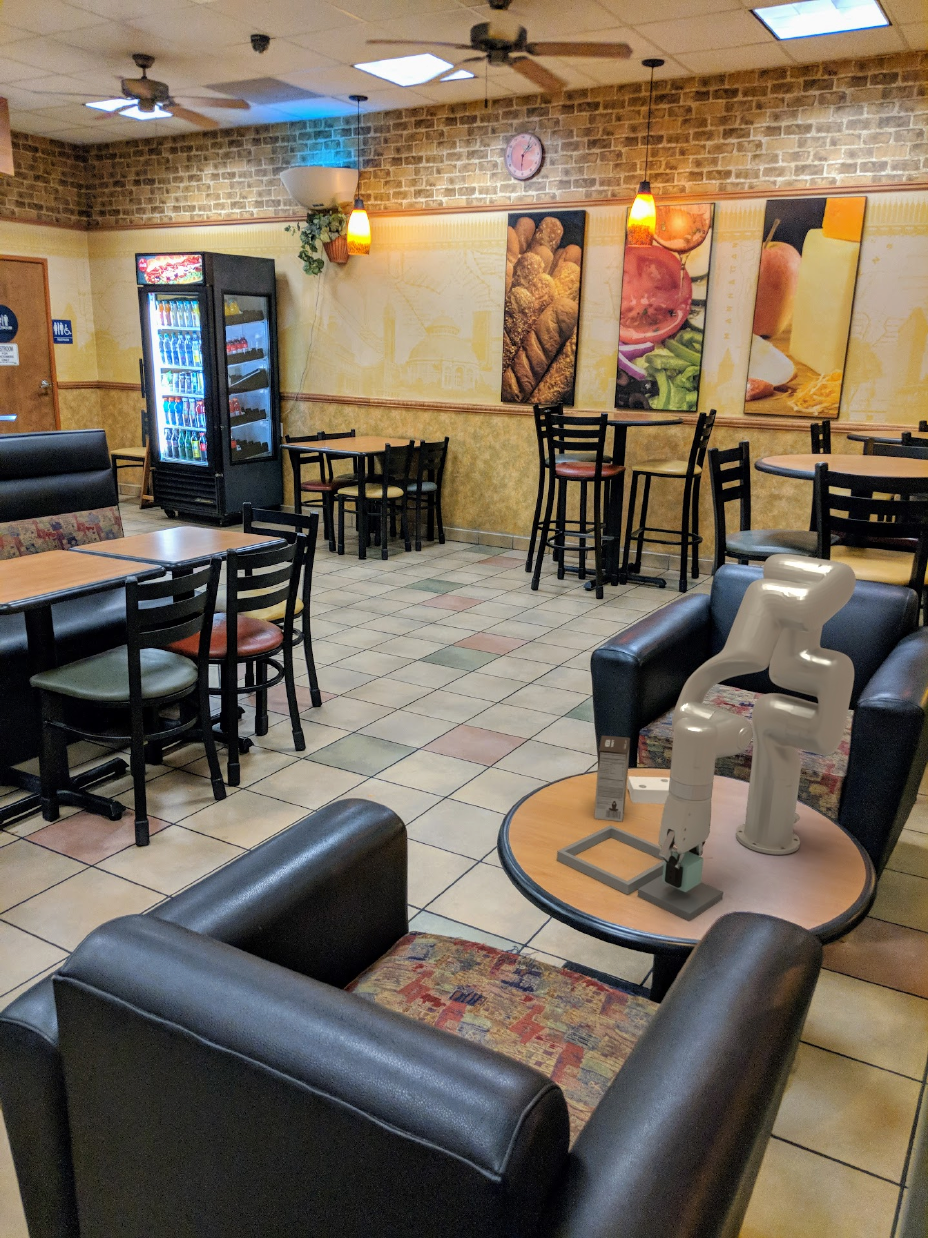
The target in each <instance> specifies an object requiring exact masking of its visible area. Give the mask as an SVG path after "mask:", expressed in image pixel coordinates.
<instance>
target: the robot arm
mask: <svg viewBox="0 0 928 1238" xmlns="http://www.w3.org/2000/svg"><path fill="white" fill-rule="evenodd" d="M854 571H855V570H853V568H852V567H851V566H850V565H848V564H847V563H844V562H839V561H835V560H829V559H823V558H816V557H810V556H805V555H798V554H791V553H776V554H773V555H770V556H769V557H768V558H767V559H766V560H765V562H764V564H763V570H762V574H763V575H762V577H763V578H759V579H756V580H754V581H752V582H751V583H749V586H747V589H746V591H745V593H744V594H743V598H742V601H741V602H740V606H739V607H738V610H737V613H736V616H735V619H734V621H733V623H732V626H731V628H730V631H729V633H728V634H729V635H728V637H727V639H726V642H725V644H724V647H723V648H722V650H720V652H719V653H718V654H715V655H714V656H713V657H711V658H709V659H708V660H706V661H705V662H704V663H702V665H700V666H699V667H698V668H697V669H696V670H694V672H693V673H692V674H691V675H690V676H689V677H688V678H687V680H686V682H685V683H684V685H683V687H682V690H681V692H680V694H679V697H678V700H677V702H676V705H675V708H674V711H673V715H672V719H671V720H672V721H671V728H672V731H673V739H672V749H671V750H672V751H671V759H670V771H669V778H670V781H669V795H668V796H667V799H666V802H665V804H664V807H663V810H662V814H661V815H662V816H661V822H660V827H659V833H658V834H659V835H658V846H660V847H662V849H661V851H660V853H659V856H660V857H662V858H663V859H664V860H665V863H666V872H665V882H666V883H668V884H670V885H673V886H675V887H677V888H680V887H681V885H682V874H683V867H681V864H682V860H683V856H684V853H685V852H687V851H688V852H691V853H693V854H696V855H698V856H700V857H702V855H703V853H704V846H705V844H706V842H707V840H708V839H709V836H710V834H711V822H712V821H711V820H712V797H713V796H712V795H713V789H714V788H713V787H714V776H715V770H716V769H715V767H716V760H717V759H718V758H719V759H720V758H728V757H733V756H736V755H739V754H741V753H742V752H744V751H745V750H746V749H747V748H748V747H749V745H750V743H751V741H752V742H753V743H752V744H753V747H752V758H751V765H750V775H749V785H748V793H747V801H746V802H747V803H746V812H745V819H744V823H742V824H740V825H739V826H738V827H737V828H736V832H735V837H736V840H737V841H738V842H739V843H740V844H741V845H742V846H744V847H746V848H748V849H750V850H752V851H754V852H758V853H762V854H767V855H775V856H776V855H779V856H780V855H781V856H782V855H788V854H792V853H794V852H796V851H797V850H799V848H800V844H801V841H800V838H799V836H798V835H797V834H796V833H795V832H794V826H795V824H797V823H798V822H799V821H800V819H801V816H800V815H799V813H797V812H796V811H797V803H798V802H797V801H798V797H799V796H798V795H799V787H800V780H801V772H802V764H801V762H802V761H801V757H800V754H799V752H798V749H799V750H803V751H806V752H810V753H813V754H816V755H822V756H828V755H831V754H833V753H835V752H836V751H837V749H838V748H839V747H840V745H841V743H842V739H843V736H844V732H845V728H846V722H847V717H848V712H849V707H850V702H851V698H852V691H853V688H854V681H855V668H854V664H853V661H852V660H851V658H850V657H849V656H848V655H847V654H845V653H843V652H840V651H837V650H833V649H828V648H825V647H824V648H823V647H821V637H822V631H823V627H824V625H825V624H826V623H827V622H828V621H829V620H830V619H831V618H832V617H833V616H835V615H836V614H837V613H838V612H839V611H841V609H842V608H844V606H846V604H847V603H848V602H849V601H850V600H851V598H852V596H853V595H854V592H855V588H856V583H857V581H856V580H857V578H856V574H855V572H854ZM768 667H769V670H768V675H769V679H770V681H771V682H772V683H773V684H775V685H776V686H778V687H780V688H783V689H787V690H789V691H793V692H798V693H801V694H805V695H807V696H808V695H809V696H813V697H815V698H817V702H818V703H816V702H814V701H813V702H812V701H810V700H809V701H808V700H806V699H803V698H800V697H795V696H792V695H789V694H788V695H787V694H783V693H774V692H773V693H772V692H771V693H770V692H769V693H765V694H763V695H761V696H760V697H758V699H757V700H756V701H755V703H754V705H753V707H752V711H751V723H750V722H749V720H748V719H746V717H743V716H741V715H739V714H736V713H733V712H730V711H726V710H722V709H720V708H716V707H713V706H709V705H707V704H704V703H703V702H704V701H705V698H706V696H707V694H708V693H709V692H710V691H711V689H712V688H713V687H715V686H716V685H718V684H719V683H720V682H722V681H725V680H727V679H730V678H733V677H737V676H742V675H747V674H753V673H758V672H762V671H764V670H766V669H767V668H768ZM751 724H752V725H751ZM752 738H753V739H752ZM674 846H675V847H674ZM673 852H675V853H677V854H678V856H677V859H676V858H675V857H674V856H672V854H673Z"/></svg>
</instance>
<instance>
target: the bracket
mask: <svg viewBox="0 0 928 1238" xmlns="http://www.w3.org/2000/svg"><path fill="white" fill-rule="evenodd" d="M669 781H670V777H662V776H661V777H658V776H657V777H656V776H655V777H654V776H630V775H627V787H626V788H627V790H628V792H629V798H630V801H631V803H632V804H659V805H660V804H661V805H663V804H664V805H665V802H666V799H667V796H668V795H669Z"/></svg>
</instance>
